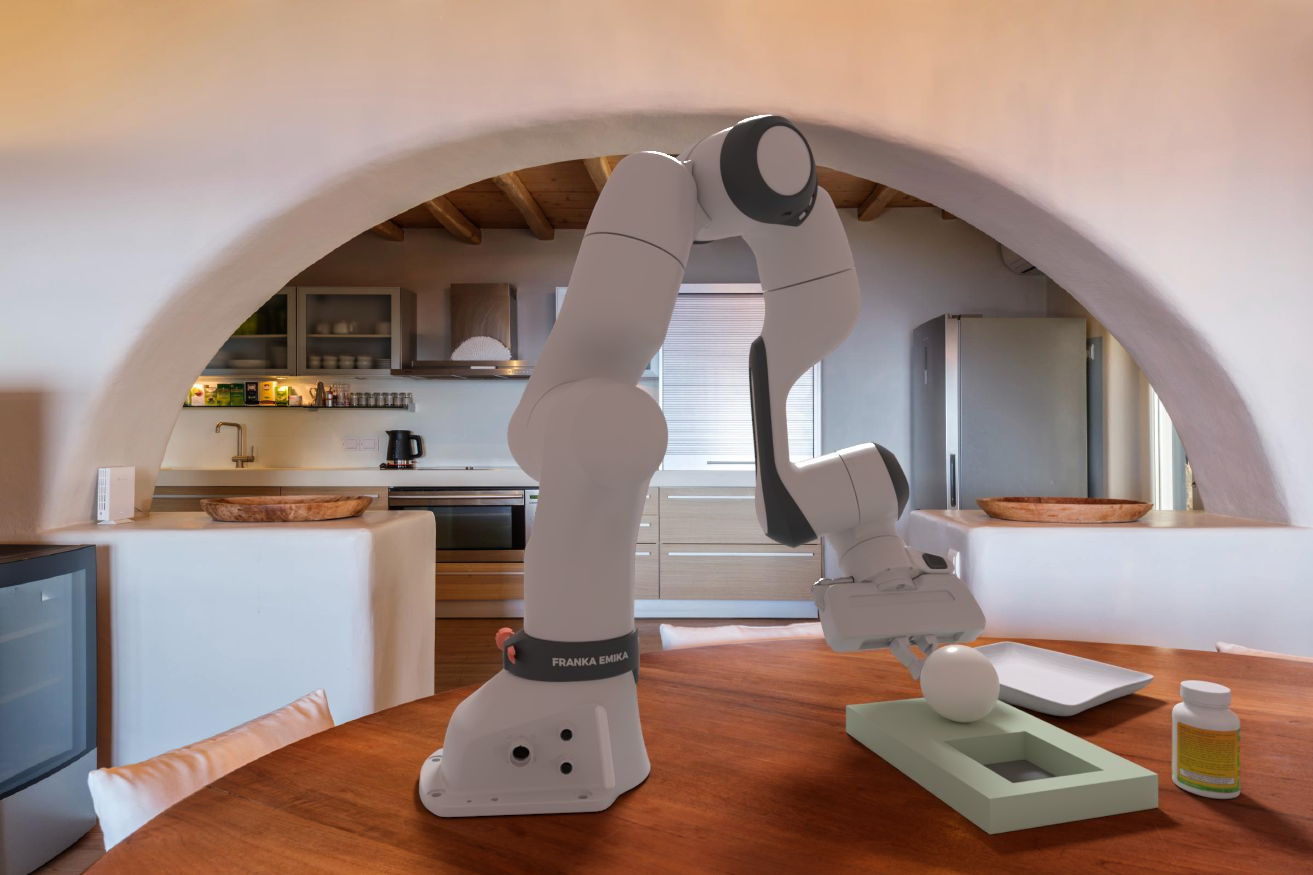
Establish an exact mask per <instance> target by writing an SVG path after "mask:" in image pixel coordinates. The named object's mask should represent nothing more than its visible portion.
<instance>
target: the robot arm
mask: <svg viewBox="0 0 1313 875" xmlns="http://www.w3.org/2000/svg"><path fill="white" fill-rule="evenodd" d="M810 146H811V145H810V144H809V142H808V140H807V139H806V137H805V135H804V133H802V132H801V130H800V129H799V128H798V126H796V125H795V124H794V123H793V122H792V121H790V120H789V119H788V118H786V117H784V116H781V115H777V114H776V115H775V114H766V115H765V114H764V115H758V116H753V117H749V118H745V119H743V120H740V121H739V122H737V123H736V124H734V125H733V126H731V127H728V128H726V129H723V130H721V131H718V132H716V133H713V134H710V135H708V136H705V137H704V138H701V139H700V140H698V141H697V142H696V143H694V144H691V145H690V146H689V147H688V148H687V149H685V150H684V151H682V152H681V153H680V154H677V155H675V156H670V155H667V154H666V153H663V152H658V151H652V150H651V151H649V150H648V151H646V150H643V151H636V152H632V153H630V154H629V155H626V156H625V157H623V158H622V159H621V160H619V162H618V163H617V164H616V165H615V167H614V168H613V170H612V172H611V173H610V175H609V177H608V178H607V181H606V182H605V184H604V186H603V188H602V190H601V192H600V194H599V196H598V199H597V201H596V203H595V205H594V208H593V210H592V212H591V216H590V218H589V220H588V224H587V226H586V228H585V231H584V235H583V238H582V242H581V245H580V247H579V250H578V253H577V257H576V260H575V263H574V266H573V269H572V273H571V275H570V279H569V281H568V285H567V288H566V291H565V295H564V298H563V301H562V304H561V307H560V309H559V312H558V315H557V316H556V320H555V322H554V324H553V327H552V329H551V330H550V333H549V335H548V337H547V339H546V341H545V343H544V345H543V348H542V350H541V352H540V353H539V356H538V358H537V360H536V363H535V364H534V368H533V370H532V371H531V374H530V377H529V379H528V381H527V384H526V386H525V388H524V391H523V393H522V396H521V398H520V399H519V402H518V405H517V406H516V408H515V410H514V412H513V413H512V415H511V417H510V419H509V423H508V426H507V431H506V432H507V434H506V435H507V445H508V448H509V452H510V454H511V456H512V458H513V460H514V461H515V462H516V464H517V465H518V466H519V468H520V469H521V470H522V471H523V472H524V473H525V474H526V475H527V476H528V477H529V478H531V479H532V480H534V481H536V482H537V483H538V484H539V485H538V496H537V500H536V505H535V506H536V508H535V513H534V519H533V524H532V527H531V528H532V529H531V532H530V536H529V540H528V542H527V543H526V546H525V548H524V554H523V627H522V628H520V629H519V630H517V631H516V632H514V631H513V629H511V628H509V627H503V628H500V629H498V632H497V633H496V634H495V643H496V646H497V647H498V649H500V650H501V651H502V666H503V668H502V670H500V671H499V672H498V673H497V674H495V675H494V676H493V677H491V679H489V680H488V681H486V682H485V683H484V684H482V685H481V687H479V688H478V689H477V690H475V691H474V692H472V694H470V695H469V696H467V697H466V698H465V699H464V700H462V701H461V702H460V703H459V704H458V705H457V707H456V708H455V709H454V711H453V713H452V715H451V718H450V720H449V722H448V725H447V728H446V733H445V736H444V741H443V747H442V748H439V749H437V750H435V751H434V752H433V753H431V754H430V755H429V756H428V757H427V758H426V760H425V761H424V762H423V764H422V766H421V769H420V772H419V773H420V774H419V783H418V794H419V798H420V801H421V802H422V804H423V806H424V807H425V808H426V809H427V810H428V811H430V812H431V813H433V814H434V815H436V816H438V817H443V818H444V817H445V818H452V817H477V816H478V817H479V816H481V817H482V816H485V817H486V816H504V815H505V816H507V815H510V816H511V815H533V814H534V815H535V814H539V815H540V814H561V813H563V814H564V813H585V812H586V813H588V812H589V813H591V812H599V811H600V812H602V811H603V810H606V809H607V808H610V806H612V804H614V802H615V801H616V799H617V798H618V797H619V796H620V795H622V794H624V793H626V792H627V791H629V790H632V789H633V788H635V787H636V786H638V785H639V784H641V783H642V782H643V781H644V780H645V779H647V777H648V776H649V774H650V771H651V762H650V759H649V756H648V752H647V748H646V744H645V740H644V736H643V732H642V724H641V719H640V712H639V711H640V710H639V704H638V692H637V684H638V683H639V674H640V671H641V670H640V669H641V668H640V666H641V662H640V660H641V657H640V656H641V655H640V654H641V647H640V646H641V644H640V637H639V628H637V627H636V626H635V580H636V579H635V576H636V573H635V572H636V570H635V569H636V568H635V567H636V551H637V543H638V536H639V531H640V527H641V521H642V518H643V512H644V508H645V503H646V499H647V495H648V491H649V488H650V484H651V480H652V478H653V477H654V475H655V473H656V472H657V470H658V469H659V467H660V466H661V465H662V463H663V461H664V458H665V456H666V452H667V451H668V450H667V449H668V445H669V428H668V425H667V424H668V423H667V420H666V417H665V415H664V414H665V413H664V411H663V409H662V408H661V406H660V405H659V403H658V402H657V401H656V399H655V398H653V396H651V394H649V393H648V392H647V391H646V390H644V389H642V388H640V387H639V386H638V383H640V382H639V381H640V379H641V378H642V376H643V375H644V373H645V370H646V369H647V367H648V366H649V364H650V363H651V361H652V359H653V358H655V356H656V355H657V353H658V352H659V351H660V350H661V348H662V347H663V344H664V342H665V341H666V337H667V334H668V331H669V327H670V324H671V320H672V316H673V312H674V309H675V307H676V302H677V298H678V296H679V292H680V289H681V285H682V282H683V278H684V275H685V272H686V269H687V268H686V267H687V264H688V260H689V256H690V252H691V248H692V245H693V246H694V245H695V246H696V245H697V246H698V245H707V244H710V243H712V242H714V241H716V240H722V239H723V240H724V239H726V238H731V237H738V236H739V237H740V236H741V239H743V240H744V241H745V242H746V244H747V245H748V247H749V248H750V249H751V251H752V253H753V254H754V256H755V260H756V266H757V272H758V277H759V282H760V285H761V286H760V287H761V290H762V295H763V300H764V320H763V324H762V329H761V331H760V334H759V335H758V337H756V338H755V339H754V340H753V341H751V343H750V347H749V355H748V383H749V385H748V386H749V387H748V388H749V401H750V402H749V404H750V413H751V423H752V424H751V427H752V437H753V438H752V439H753V450H754V466H755V467H754V470H755V471H754V472H755V490H754V507H755V512H756V513H755V514H756V517H757V520H758V522H759V525H760V528H761V529H762V530H763V532H764V535H765V536H766V537H767V538H769V539H770V540H772V541H774V542H776V543H777V544H778V543H779V544H781V545H782V546H786V547H789V548H792V549H795V548H797V547H800V546H803V545H805V544H808V543H810V542H813V541H815V540H818V538H821V537H824V536H825V537H826V540H827V542H828V543H829V546H831V548H832V549H833V550H834V551H835V554H836V555H837V562H838V567H839V570H840V572H841V575H842V576H841V577H834V578H829V577H828V578H827V577H825V578H818V580H817V582H814V583H813V584H812V585H811V587H810V595H811V597H812V600H813V603H814V606H815V607H816V608H817V609H818V615H819V621H820V625H821V629H822V634H823V636H824V640H825V642H826V643H825V644H827V646H828V647H829V648H830V649H831V650H832V651H834V652H835V653H849V652H863V651H875V650H876V651H877V650H888V649H890V651H891V654H892V655H893V657H894V658H895V659H897V661H899V662H900V663H901V664H902V665H904V667H906V668H908V670H909V672H910V675H911V677H912V679H913V680H914V681H920V676H921V670H922V667H923V664H924V662H925V661H926V659H927V658H928V657H929V656H930V655H931V654H932V653H933V652H934V651H936V650H937V649H939V645H948V644H949V645H953V644H962V643H973V642H974V641H976V640H977V639H978V638H979V636H980V635H981V634H982V633H983V632H984V630H985V628H986V625H987V620H986V617H985V614H984V612H983V610H982V608H981V606H980V605H979V603H978V601H977V600H976V598H975V596H974V595H973V593H972V591H971V590H970V589H969V587H968V586H967V584H966V583H965V582H964V580H962V579H961V578H960V577H958V576H956V575H953V573H954V571H955V569H956V568H955V565H954V564H955V563H953V561H952V560H951V559H950V557H947V556H944V555H942V554H941V555H940V554H935V553H932V552H928V551H924V550H922V549H919V548H916V547H913V546H909V545H907V544H906V542H905V541H904V540H903V538H902V537H901V536H900V534H898V532H897V530H896V526H895V523H896V522H898V521H899V520H900V519H901V516H902V515H903V514H904V510H905V508H906V506H907V504H908V502H909V499H910V484H909V482H908V479H907V476H906V474H905V472H904V470H903V468H902V465H901V464H900V462H899V460H898V458H897V456H896V454H894V453H893V452H892V451H890V450H889V449H888V448H886V447H884V446H883V445H881V444H878V443H877V442H873V441H871V442H866V443H865V442H864V443H861V444H856V445H852V446H848V447H846V448H845V447H844V448H841V449H838V450H835V451H833V452H830V453H825V454H823V455H818V456H816V457H812V458H808V459H806V460H802V461H801V460H800V461H798V462H791V461H790V451H789V450H790V448H789V432H788V419H787V418H788V417H787V400H788V397H789V394H790V391H791V389H792V388H793V387H794V385H795V383H796V382H797V381H798V380H799V379H800V378H801V377H802V376H803V375H804V374H805V373H806V372H808V370H810V369H811V368H813V367H814V366H815V365H817V364H818V363H820V362H821V361H823V359H824V360H825V358H827V357H828V356H829V355H830V354H832V353H834V351H836V350H837V349H838V348H839V347H840V346H841V345H842V344H843V343H844V342H845V341H846V340H847V338H849V336H850V335H851V334H852V332H853V330H855V327H856V325H857V324H858V321H859V318H860V316H861V312H862V311H861V310H862V297H861V288H860V283H859V282H860V281H859V278H858V274H857V269H856V267H855V266H856V264H855V261H854V257H853V254H852V249H851V246H850V243H849V239H848V236H847V233H846V231H845V230H846V229H845V228H844V225H843V223H842V220H841V218H840V215H839V213H838V210H837V208H836V206H835V204H834V201H833V199H832V197H831V196H830V194H829V193H828V191H827V190H826V189H824V188H823V187H822V186H820V185H819V180H818V179H819V178H818V174H817V173H818V172H817V165H816V161H815V157H814V154H813V150H812V148H811V147H810ZM912 647H913V648H914V647H917V649H918V650H919V652H920V653H921V654H924V653H925V654H924V658H919V657H918V656H917V655H916V654H915V652H914V651H912V650H911V649H910V648H912Z"/></svg>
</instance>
